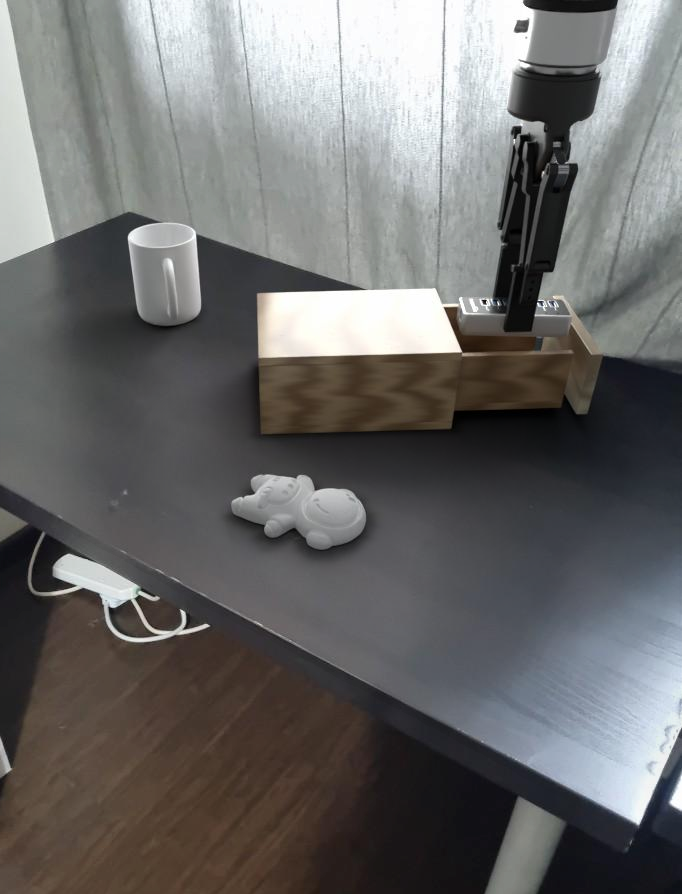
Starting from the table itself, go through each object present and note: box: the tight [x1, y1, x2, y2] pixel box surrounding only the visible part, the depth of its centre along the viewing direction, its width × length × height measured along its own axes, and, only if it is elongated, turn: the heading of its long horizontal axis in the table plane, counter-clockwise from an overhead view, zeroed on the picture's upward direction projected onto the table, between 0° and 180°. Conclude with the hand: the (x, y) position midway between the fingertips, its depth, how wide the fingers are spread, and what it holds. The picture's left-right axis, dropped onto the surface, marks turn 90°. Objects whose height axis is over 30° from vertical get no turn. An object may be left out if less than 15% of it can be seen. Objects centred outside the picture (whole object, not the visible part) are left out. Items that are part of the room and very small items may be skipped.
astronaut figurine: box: [230, 473, 367, 551], centre depth 74 cm, size 9×12×3 cm
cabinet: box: [256, 287, 462, 435], centre depth 88 cm, size 20×15×9 cm
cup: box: [127, 222, 202, 327], centre depth 103 cm, size 8×12×10 cm
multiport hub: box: [456, 296, 573, 338], centre depth 86 cm, size 4×11×2 cm, turn 87°
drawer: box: [442, 295, 604, 415], centre depth 89 cm, size 20×14×7 cm
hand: (510, 317), depth 86 cm, fingers closed on multiport hub, 5 cm apart
